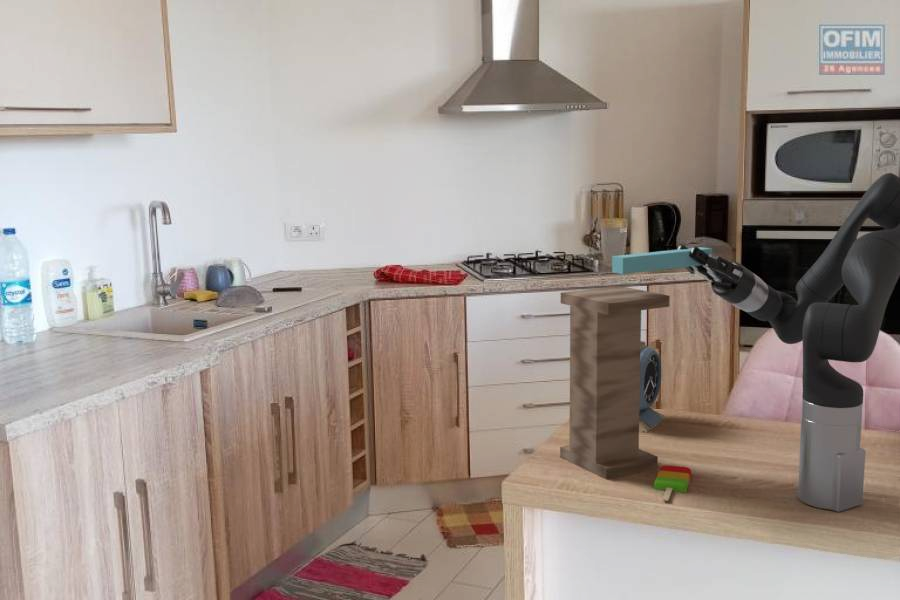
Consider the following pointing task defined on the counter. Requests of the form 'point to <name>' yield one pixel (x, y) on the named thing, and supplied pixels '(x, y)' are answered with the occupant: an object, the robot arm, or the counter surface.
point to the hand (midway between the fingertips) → (685, 250)
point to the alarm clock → (649, 387)
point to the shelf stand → (607, 379)
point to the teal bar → (654, 261)
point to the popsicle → (672, 480)
